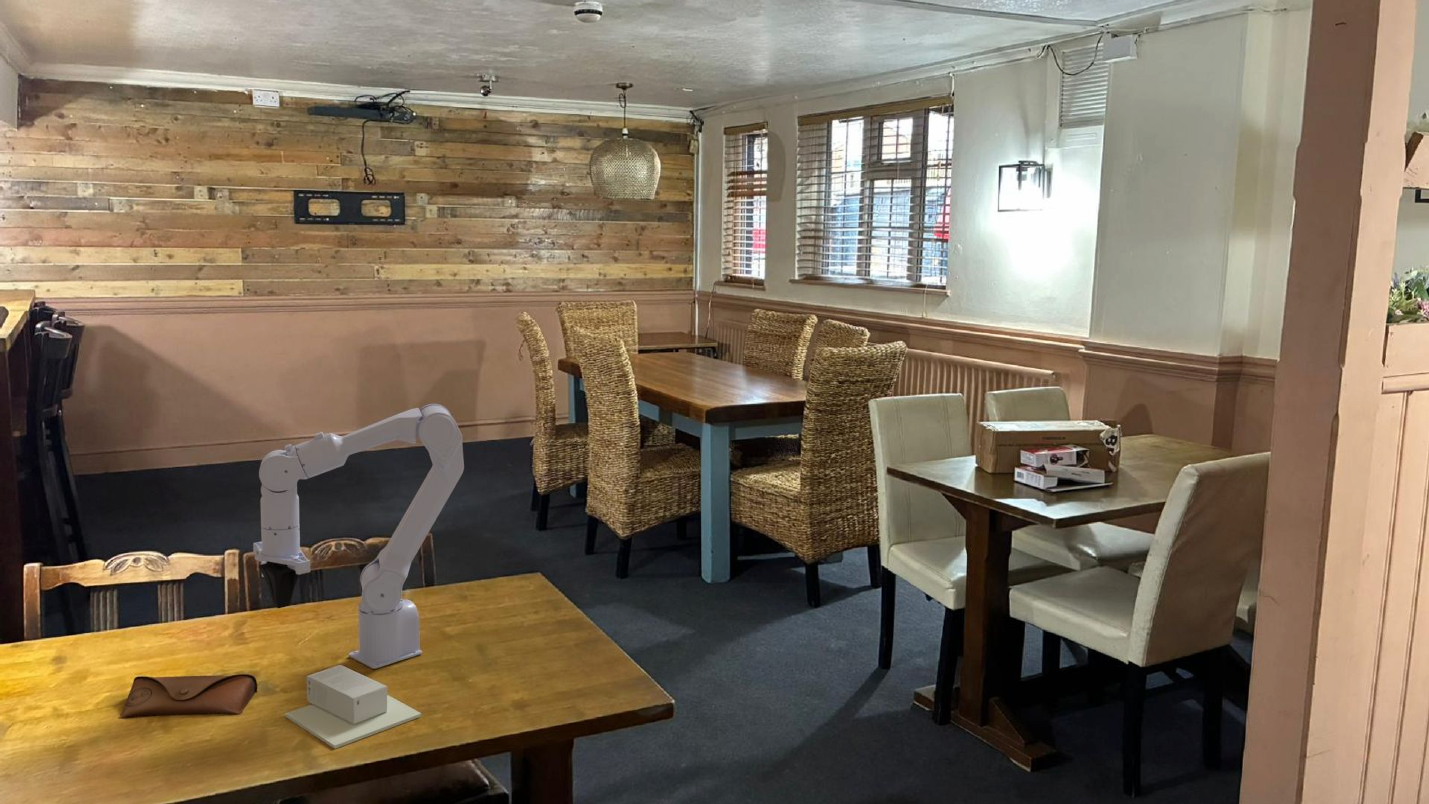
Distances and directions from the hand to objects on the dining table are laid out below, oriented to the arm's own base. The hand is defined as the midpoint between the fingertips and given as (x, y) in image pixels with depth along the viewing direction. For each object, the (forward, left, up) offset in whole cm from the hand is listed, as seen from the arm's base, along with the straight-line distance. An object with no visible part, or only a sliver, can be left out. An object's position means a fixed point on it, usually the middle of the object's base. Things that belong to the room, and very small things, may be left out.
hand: (282, 606), depth 171 cm
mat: (+2, +24, -10) cm, 26 cm away
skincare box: (+1, +15, -8) cm, 17 cm away
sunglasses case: (+17, +3, -11) cm, 20 cm away
